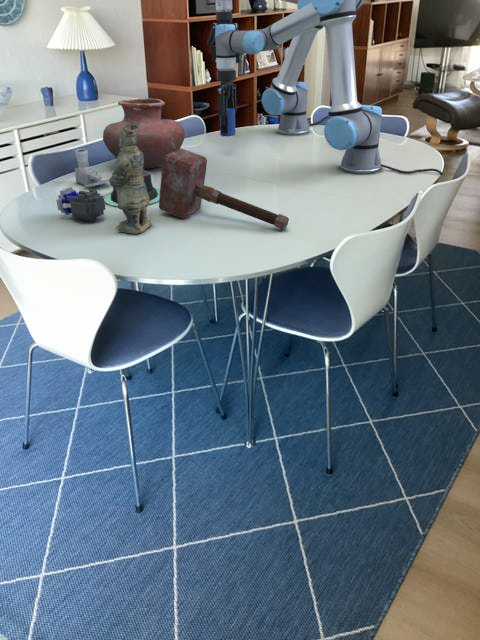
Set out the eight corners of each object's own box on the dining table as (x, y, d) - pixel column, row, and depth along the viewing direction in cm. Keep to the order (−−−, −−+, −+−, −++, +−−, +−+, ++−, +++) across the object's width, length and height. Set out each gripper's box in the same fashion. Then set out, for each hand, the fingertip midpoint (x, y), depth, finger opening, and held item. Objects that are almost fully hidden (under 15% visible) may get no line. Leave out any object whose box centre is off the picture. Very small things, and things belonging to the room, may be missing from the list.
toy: (69, 184, 172) (107, 190, 166) (73, 210, 176) (111, 217, 170) (49, 192, 165) (88, 198, 160) (54, 219, 170) (93, 226, 164)
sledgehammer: (299, 190, 156) (179, 147, 167) (285, 200, 148) (161, 154, 160) (286, 244, 166) (174, 200, 177) (272, 256, 158) (156, 209, 170)
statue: (131, 220, 168) (117, 116, 152) (158, 224, 164) (147, 118, 149) (109, 233, 159) (93, 124, 144) (138, 237, 156) (124, 126, 140)
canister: (219, 133, 229) (218, 108, 224) (234, 132, 230) (233, 107, 225) (221, 136, 224) (220, 111, 219) (236, 136, 225) (236, 110, 220)
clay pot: (194, 158, 230) (190, 94, 217) (174, 179, 204) (168, 107, 192) (124, 156, 235) (116, 93, 222) (96, 176, 209) (85, 106, 197)
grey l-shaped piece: (86, 146, 202) (111, 153, 193) (91, 178, 208) (115, 186, 199) (65, 151, 196) (90, 158, 187) (70, 183, 202) (95, 192, 193)
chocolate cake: (91, 202, 180) (113, 186, 197) (142, 231, 182) (160, 212, 199) (107, 162, 172) (129, 148, 190) (160, 192, 174) (177, 176, 192)
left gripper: (197, 11, 255) (200, 62, 265) (241, 11, 242) (242, 64, 252) (208, 10, 260) (210, 60, 271) (251, 10, 247) (251, 62, 257)
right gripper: (227, 66, 223) (229, 125, 235) (206, 72, 208) (209, 135, 220) (244, 66, 221) (245, 127, 232) (224, 72, 206) (226, 136, 217)
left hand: (225, 62), depth 261 cm, fingers open, 13 cm apart
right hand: (228, 131), depth 226 cm, fingers closed on canister, 6 cm apart
